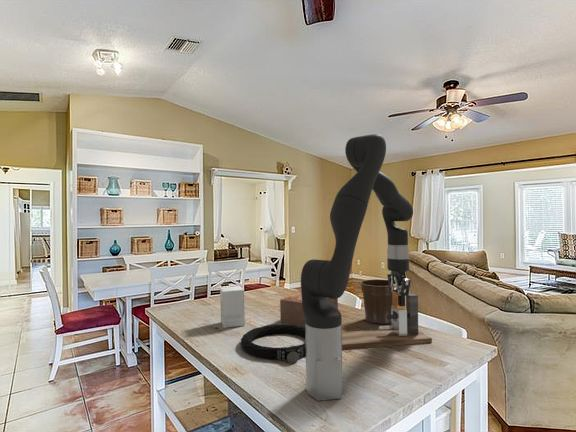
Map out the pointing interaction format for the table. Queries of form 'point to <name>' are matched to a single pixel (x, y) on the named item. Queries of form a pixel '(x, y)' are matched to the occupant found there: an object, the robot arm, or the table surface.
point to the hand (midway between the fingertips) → (398, 304)
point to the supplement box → (232, 306)
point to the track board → (389, 331)
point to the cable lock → (274, 353)
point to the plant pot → (377, 300)
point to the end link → (401, 322)
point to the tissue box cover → (297, 309)
